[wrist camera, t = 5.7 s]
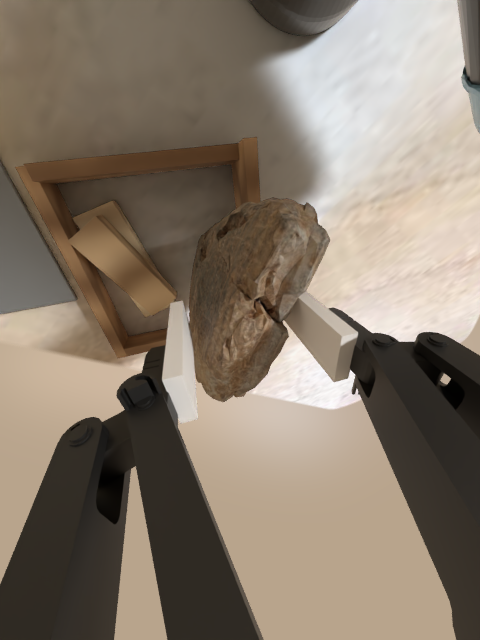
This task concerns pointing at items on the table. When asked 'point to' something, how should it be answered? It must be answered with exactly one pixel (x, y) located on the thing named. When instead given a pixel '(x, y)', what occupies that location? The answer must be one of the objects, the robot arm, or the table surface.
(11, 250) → the mat
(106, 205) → the offcut
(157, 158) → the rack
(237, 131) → the table surface
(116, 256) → the offcut
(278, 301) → the brown rock
